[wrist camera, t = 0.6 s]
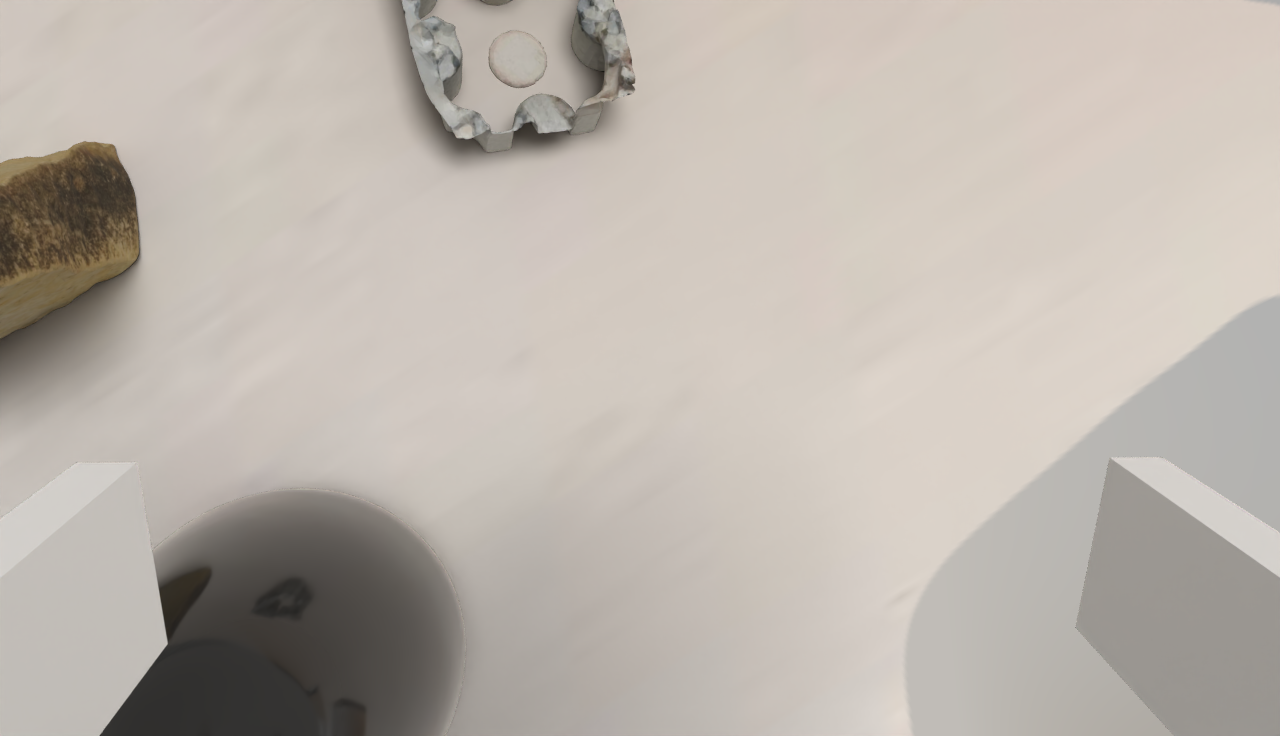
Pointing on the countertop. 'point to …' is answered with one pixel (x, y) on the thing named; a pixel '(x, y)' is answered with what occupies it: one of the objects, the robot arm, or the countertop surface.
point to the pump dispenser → (300, 625)
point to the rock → (62, 229)
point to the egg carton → (521, 70)
